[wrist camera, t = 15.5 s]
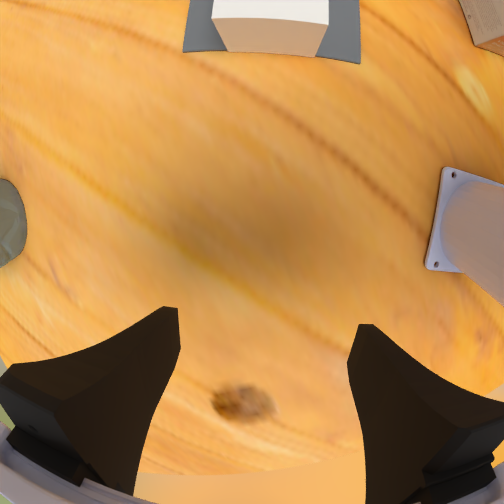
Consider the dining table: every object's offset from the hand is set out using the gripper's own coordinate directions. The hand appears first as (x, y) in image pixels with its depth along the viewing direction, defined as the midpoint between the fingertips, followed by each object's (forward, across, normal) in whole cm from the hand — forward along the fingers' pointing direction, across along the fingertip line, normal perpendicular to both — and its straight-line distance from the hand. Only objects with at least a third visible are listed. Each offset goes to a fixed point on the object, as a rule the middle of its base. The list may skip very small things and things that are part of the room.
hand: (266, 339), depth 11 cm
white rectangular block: (+10, +1, -20) cm, 22 cm away
